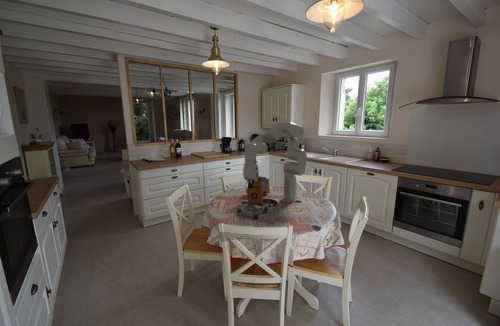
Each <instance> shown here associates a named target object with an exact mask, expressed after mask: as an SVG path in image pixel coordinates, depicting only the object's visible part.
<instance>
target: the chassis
mask: <svg viewBox="0 0 500 326" xmlns="http://www.w3.org/2000/svg"><path fill="white" fill-rule="evenodd" d="M250 204H251V205H254V206H255V207H256V212H255V213H253V214H252V212H250V211H247V210H245V209H243V208H242V207H238V208H237V209H236V213H237V215H238V216H240V217H243V218H246V219H250V220H257V219H258V218H259V217H260V216H261V215H262V214H263V213H268V212H269V207H268V206H264V207H263V206H261V205H259V204H252V203H251V202H249V203H248V202H247V206H248V205H250Z"/></svg>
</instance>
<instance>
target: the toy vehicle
mask: <svg viewBox="0 0 500 326" xmlns="http://www.w3.org/2000/svg"><path fill="white" fill-rule="evenodd" d="M261 177H262V185H263V196H266V195H267V194H270V178H267V176H261ZM245 193H246V194H247V195H248V187H246V188H245Z"/></svg>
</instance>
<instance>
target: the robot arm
mask: <svg viewBox="0 0 500 326" xmlns="http://www.w3.org/2000/svg"><path fill="white" fill-rule="evenodd" d="M304 133H305V130H304V126H302V125H299V124H297V123H294V122H291V121H279V122H278V123H276V125H274V126H273V127H272V128H270V130H268V131H266V132H264V133H262V134H260V135H258V136H255V137H254V138H253V139H252V140H251V141H249V142H248V143H245V144H244V164H243V171H242V175H243V176H242V177H243V179H244V180H245V181H246V183H247V188H248V189H252V188H253V183H254V181H258V179H257V178H259V176H260V174H259V172H260V171H259V165H258V161H257V155H258V154H260V155H261V154H265V153H267V151H268V145H267V144H270V143H275V142H276V141H277V140H279V139H280V138H281V137H282V136H283V135H284V136H285V137H286V139H287V148H286V149H287V150H286V158H287V159H288V160H290V161H286V162H284V164H283V174H284V177H283V178H284V179H283V180H284V181H283V196H282V197H281V200H282V201H283V202H287V203H295V202H297V201H298V197H297V196H296V195H297V177H296V176H303V175H304V174H305V171H306V166H307V165H306V164H307V155H308V154H307V152H306V150H305V149H303V148H300V146H299V145H300V141H299V140H300V139H298V138H302V137H303V136H304Z"/></svg>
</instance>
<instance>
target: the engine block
mask: <svg viewBox="0 0 500 326" xmlns="http://www.w3.org/2000/svg"><path fill="white" fill-rule="evenodd" d="M254 205H255V204H253V205H251V204H250V205H248V204H247V206H245V208H244V210H247V211H250V212H252V214H253V213H255V212H256V207H255V206H254Z"/></svg>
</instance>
